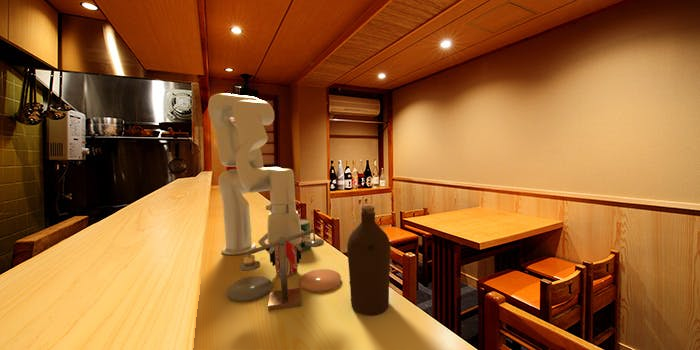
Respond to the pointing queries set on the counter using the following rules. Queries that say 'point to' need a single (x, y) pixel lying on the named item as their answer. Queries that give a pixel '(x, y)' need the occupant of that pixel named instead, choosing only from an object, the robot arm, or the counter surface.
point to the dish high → (320, 280)
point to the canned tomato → (305, 227)
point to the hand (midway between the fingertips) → (286, 262)
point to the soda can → (287, 259)
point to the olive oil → (369, 265)
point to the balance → (285, 295)
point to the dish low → (249, 289)
